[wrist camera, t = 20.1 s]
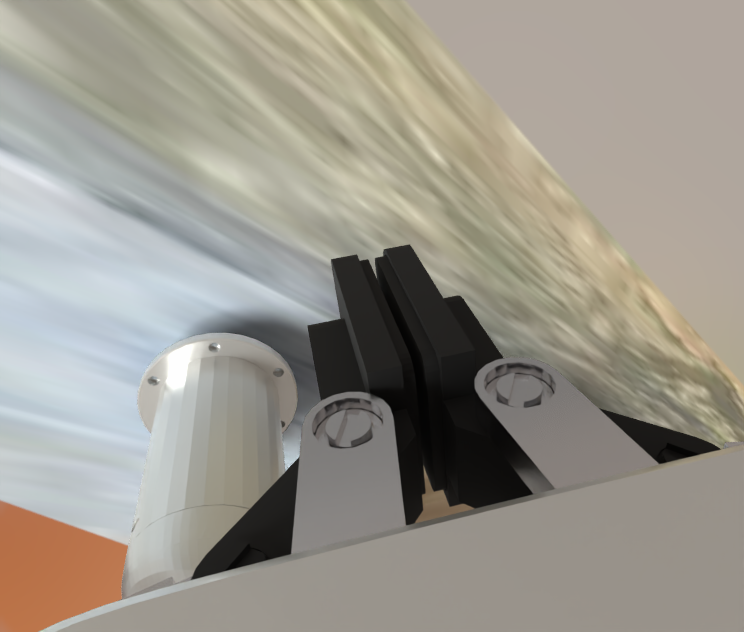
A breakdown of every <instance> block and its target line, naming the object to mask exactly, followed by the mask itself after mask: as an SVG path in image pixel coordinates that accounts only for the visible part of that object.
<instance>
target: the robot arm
mask: <svg viewBox="0 0 744 632" xmlns="http://www.w3.org/2000/svg"><path fill="white" fill-rule="evenodd" d="M331 264H332V271H333V276H334V282H335V288H336V294H337V300H338V306H339V312H340V318H341V319H338V320H333V321H328V322H323V323H318V324H313V325H308V331H309V337H310V342H311V348H312V353H313V359H314V364H315V370H316V375H317V381H318V386H319V391H320V397H321V401H320V402H319V403H318V404H316V405H315V406H314V407H313V408H312V409H311V410H310V411H309V413H308V414H307V415H306V417H305V419H304V422H303V426H302V434H301V445H300V457H299V458H298V459H297V460H296V461H295V462H294V463H293V464H292V465H291V466H290V467H289V468H288V470H287V471H286V472H285V463H284V451H283V439H282V433H283V432H284V431H285V430H286V429H287V427H288V426H289V424H290V423H291V421H292V419H293V417H294V414H295V411H296V409H297V400H298V394H297V385H296V381H295V377H294V374H293V372H292V370H291V368H290V367H289V365H288V363H287V362H286V361H285V360H284V359H283V357H282V356H281V355H280V354H279V353H277V352H276V351H275V350H273V349H272V348H271V347H270V346H268V345H266V344H264V343H262V342H260V341H258V340H256V339H253V338H250V337H247V336H243V335H238V334H231V333H207V334H201V335H195V336H192V337H189V338H186V339H183V340H180V341H178V342H176V343H174V344H173V345H171V346H169V347H167V348H165V349H164V350H163V351H162V352H161V353H159V354H158V355H157V356H156V357H155V358H154V359H153V360H152V362H151V363H150V364H149V365H148V367H147V368H146V370H145V372H144V374H143V376H142V379H141V382H140V386H139V390H138V400H137V405H138V410H139V415H140V417H141V419H142V421H143V423H144V426H145V427H146V428H147V430H148V431H149V432H150V433H151V437H150V442H149V447H148V452H147V457H146V462H145V466H144V471H143V476H142V481H141V486H140V491H139V496H138V501H137V506H136V511H135V516H134V521H133V526H132V531H131V536H130V541H129V546H128V551H127V556H126V561H125V565H124V572H123V578H122V599H121V600H119V601H117V602H114V603H110V604H107V605H104V606H101V607H98V608H96V609H93V610H90V611H88V612H85V613H82V614H80V615H77V616H74V617H72V618H69V619H66V620H64V621H61V622H58V623H56V624H54V625H52V626H50V627H48V628H46V629H44V630H41V631H39V632H744V442H725V445H724V448H723V449H722V450H721V449H720V448H718V447H717V446H715V445H713V444H712V443H709V442H707V441H704V440H702V439H699V438H697V437H694V436H690V435H687V434H683V433H680V432H677V431H673V430H670V429H667V428H663V427H660V426H656V425H653V424H650V423H646V422H643V421H640V420H636V419H633V418H630V417H626V416H623V415H619V414H616V413H613V412H609V411H606V410H603V409H599V408H598V407H596V406H595V405H594V404H593V403H592V402H591V401H590V400H589V399H588V398H587V397H586V396H584V395H583V394H582V393H581V392H580V391H579V390H578V389H577V388H576V387H575V386H574V385H572V384H571V383H570V382H569V381H568V380H567V379H566V378H565V377H564V376H563V375H562V374H560V373H559V372H558V371H557V370H556V369H554V368H553V367H551V366H550V365H548V364H546V363H544V362H541V361H538V360H536V359H530V358H525V357H508V358H503V357H502V355H501V354H500V352H499V351H498V349H497V348H496V346H495V345H494V344H493V342H492V341H491V339H490V338H489V336H488V335H487V333H486V332H485V330H484V329H483V327H482V326H481V324H480V323H479V321H478V320H477V319H476V317H475V316H474V314H473V313H472V311H471V310H470V308H469V307H468V305H467V304H466V302H465V301H464V299H463V298H462V297H461V296H453V297H448V298H443V297H442V295H441V294H440V292H439V291H438V289H437V287H436V286H435V284H434V283H433V281H432V279H431V278H430V276H429V274H428V273H427V271H426V270H425V268H424V266H423V265H422V263H421V261H420V260H419V258H418V257H417V255H416V253H415V252H414V250H413V249H412V247H411V246H410V245H405V246H399V247H394V248H389V249H384V251H383V257H378V258H375V265H376V274H377V278H376V276H375V274H374V272H373V269H372V267H371V265H370V263H369V260H368V259H367V260H362V261H359V259H358V256H357V255H352V256H347V257H341V258H336V259H331ZM215 343H216V344H215ZM423 465H424V467H423ZM424 468H425V471H426V474H427V476H428V479H429V482H430V485H431V487H432V489H433V491H434V492H435V491H440V490H443V491H444V494H445V496H446V499H447V501H448V504H449V507H452V506H456V505H460V504H466V505H468V506H470V507H473V508H475V509H472V510H468V511H464V512H460V513H456V514H451V515H447V516H443V517H439V518H435V519H431V520H427V521H423V522H419V523H415V522H416V520H417V519H418V517H419V516H420V514H421V513H422V511H423V500H422V495H423V494H425V493H426V489H425V478H424ZM414 523H415V524H414Z"/></svg>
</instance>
